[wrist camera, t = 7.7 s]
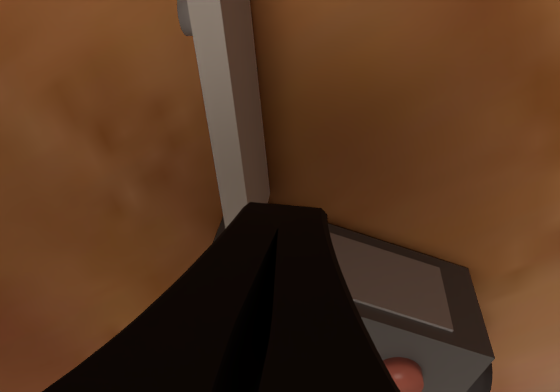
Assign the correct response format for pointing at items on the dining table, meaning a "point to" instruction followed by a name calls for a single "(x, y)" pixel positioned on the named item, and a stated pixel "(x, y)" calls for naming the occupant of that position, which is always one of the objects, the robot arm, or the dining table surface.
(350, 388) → the robot arm
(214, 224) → the dining table surface
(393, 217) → the dining table surface
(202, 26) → the side door
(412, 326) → the cam body
